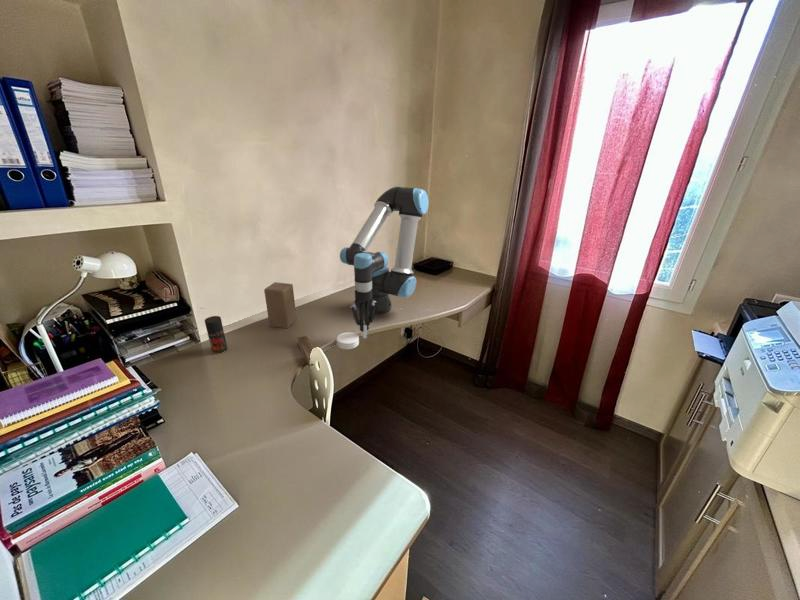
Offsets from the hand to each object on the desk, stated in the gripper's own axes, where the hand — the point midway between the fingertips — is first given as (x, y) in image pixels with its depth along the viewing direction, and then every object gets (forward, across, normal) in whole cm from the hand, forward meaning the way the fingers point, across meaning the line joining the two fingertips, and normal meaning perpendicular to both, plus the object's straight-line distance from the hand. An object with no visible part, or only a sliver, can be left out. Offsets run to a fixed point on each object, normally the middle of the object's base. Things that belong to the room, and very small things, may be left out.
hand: (364, 336), depth 155 cm
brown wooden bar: (+2, +26, 0) cm, 26 cm away
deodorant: (+2, +59, -19) cm, 62 cm away
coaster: (+2, +8, 0) cm, 8 cm away
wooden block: (+2, +30, -32) cm, 44 cm away
